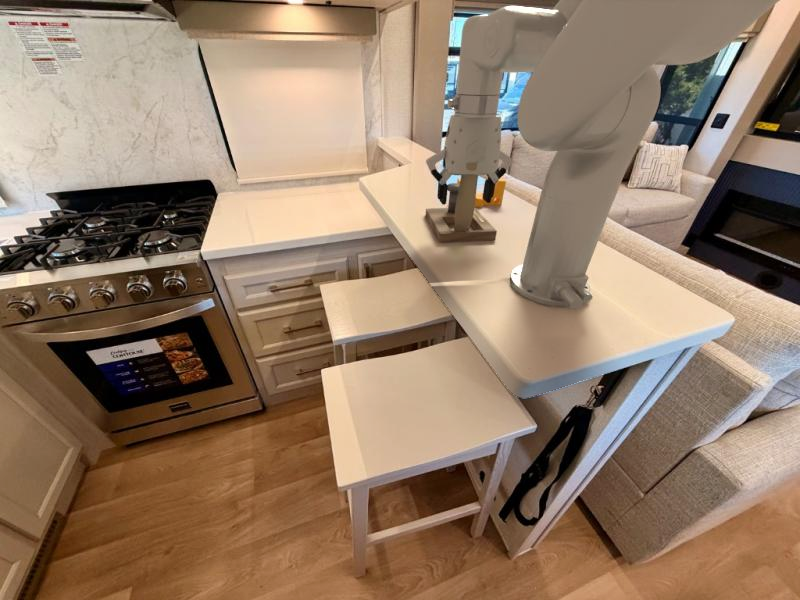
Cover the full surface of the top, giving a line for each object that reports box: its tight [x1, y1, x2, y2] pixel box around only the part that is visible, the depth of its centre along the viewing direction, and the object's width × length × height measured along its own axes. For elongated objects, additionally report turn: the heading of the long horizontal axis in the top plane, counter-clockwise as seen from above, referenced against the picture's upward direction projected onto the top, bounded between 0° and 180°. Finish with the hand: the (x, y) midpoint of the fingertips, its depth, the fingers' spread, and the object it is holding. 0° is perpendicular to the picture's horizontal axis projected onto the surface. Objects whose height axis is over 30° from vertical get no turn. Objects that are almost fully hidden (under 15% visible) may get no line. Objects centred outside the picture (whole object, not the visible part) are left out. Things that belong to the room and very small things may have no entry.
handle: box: [453, 163, 479, 231], centre depth 68 cm, size 5×6×15 cm
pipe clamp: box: [456, 177, 507, 208], centre depth 86 cm, size 12×4×6 cm, turn 92°
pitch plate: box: [425, 182, 498, 244], centre depth 72 cm, size 15×12×8 cm
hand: (464, 201), depth 68 cm, fingers open, 9 cm apart
